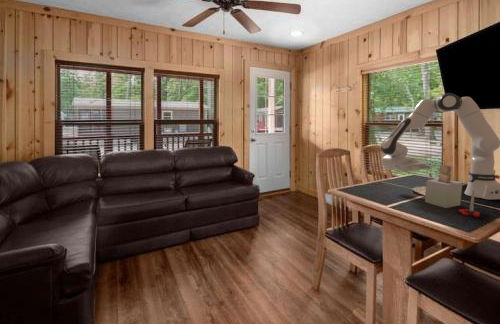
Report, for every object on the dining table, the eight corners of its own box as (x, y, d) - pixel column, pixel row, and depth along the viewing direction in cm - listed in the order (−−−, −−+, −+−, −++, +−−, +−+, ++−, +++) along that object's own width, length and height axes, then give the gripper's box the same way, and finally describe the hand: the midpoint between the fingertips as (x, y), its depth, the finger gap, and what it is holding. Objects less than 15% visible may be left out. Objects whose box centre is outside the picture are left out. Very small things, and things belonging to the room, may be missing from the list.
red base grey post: (457, 210, 149) (460, 215, 141) (460, 186, 147) (463, 190, 139) (477, 212, 145) (481, 217, 137) (480, 188, 143) (484, 192, 135)
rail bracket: (442, 187, 160) (444, 165, 158) (449, 188, 156) (451, 166, 154) (437, 187, 159) (439, 165, 157) (444, 189, 155) (447, 166, 153)
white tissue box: (438, 199, 167) (440, 178, 165) (459, 205, 156) (462, 182, 154) (424, 202, 162) (426, 180, 160) (445, 208, 151) (448, 184, 149)
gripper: (392, 161, 176) (412, 164, 163) (415, 158, 183) (436, 161, 170) (392, 170, 177) (411, 174, 164) (414, 168, 184) (435, 171, 171)
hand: (424, 168), depth 167 cm, fingers open, 8 cm apart
